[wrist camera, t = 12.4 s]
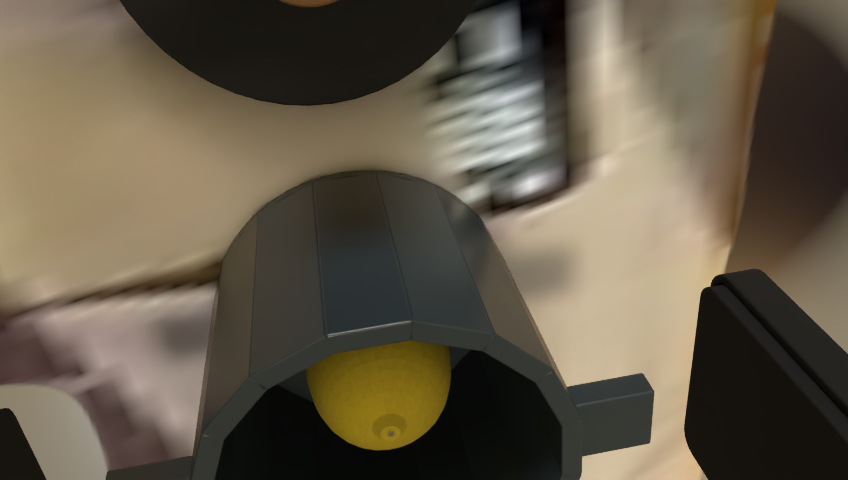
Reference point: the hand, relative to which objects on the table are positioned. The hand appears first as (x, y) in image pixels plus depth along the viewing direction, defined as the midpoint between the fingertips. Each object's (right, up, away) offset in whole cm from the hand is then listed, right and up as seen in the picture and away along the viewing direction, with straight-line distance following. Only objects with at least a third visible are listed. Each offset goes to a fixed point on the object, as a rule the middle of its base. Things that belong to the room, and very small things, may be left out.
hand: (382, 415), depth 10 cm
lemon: (-2, 0, +22) cm, 22 cm away
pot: (-2, 0, +23) cm, 23 cm away
